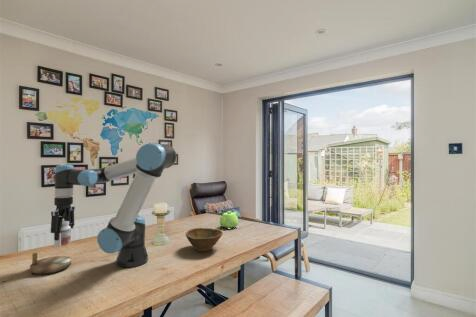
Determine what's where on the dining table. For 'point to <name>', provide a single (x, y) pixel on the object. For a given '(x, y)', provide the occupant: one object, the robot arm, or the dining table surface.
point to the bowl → (203, 238)
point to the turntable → (49, 264)
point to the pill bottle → (65, 233)
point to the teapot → (229, 219)
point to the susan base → (52, 272)
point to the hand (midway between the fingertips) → (62, 244)
